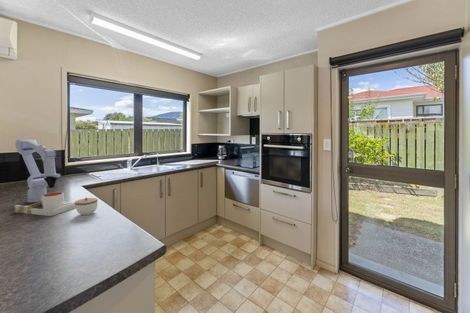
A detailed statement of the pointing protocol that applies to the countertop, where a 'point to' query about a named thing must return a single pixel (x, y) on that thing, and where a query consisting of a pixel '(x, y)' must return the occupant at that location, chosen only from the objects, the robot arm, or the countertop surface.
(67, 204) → the dock
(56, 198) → the cup
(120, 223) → the countertop surface
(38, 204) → the bay
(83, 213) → the lidded jar
